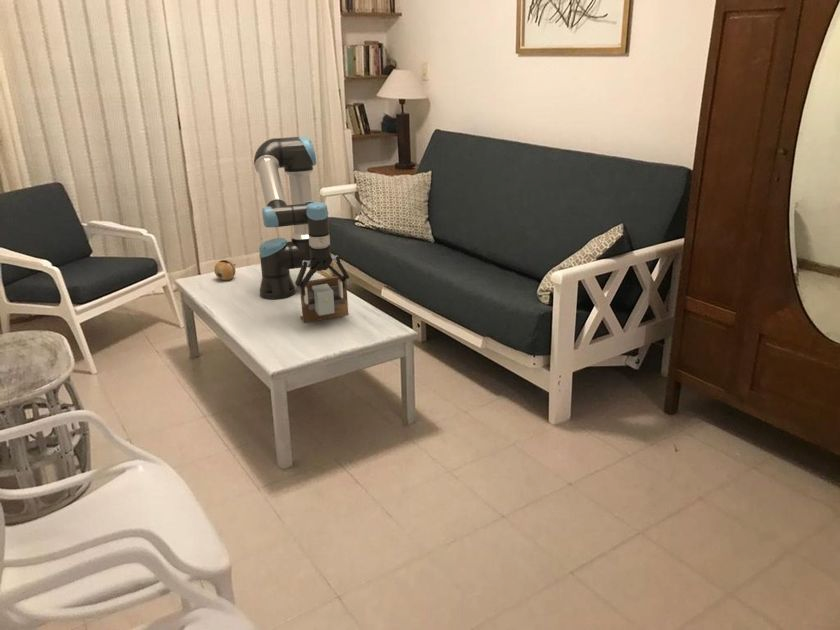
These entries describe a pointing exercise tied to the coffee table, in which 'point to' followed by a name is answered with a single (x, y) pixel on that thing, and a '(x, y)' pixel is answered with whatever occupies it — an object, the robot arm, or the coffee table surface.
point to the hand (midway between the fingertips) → (323, 300)
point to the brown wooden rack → (309, 309)
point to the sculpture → (225, 270)
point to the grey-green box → (323, 299)
